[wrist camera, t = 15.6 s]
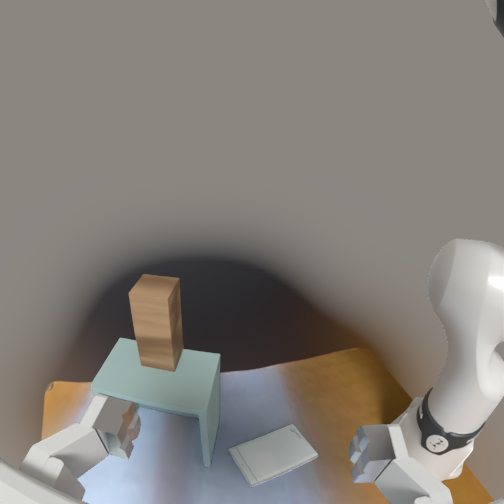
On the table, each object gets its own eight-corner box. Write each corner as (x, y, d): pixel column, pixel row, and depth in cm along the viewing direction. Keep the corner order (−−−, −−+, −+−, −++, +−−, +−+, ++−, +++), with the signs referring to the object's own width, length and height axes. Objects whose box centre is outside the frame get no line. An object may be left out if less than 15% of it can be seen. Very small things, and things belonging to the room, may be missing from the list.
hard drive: (292, 422, 50) (228, 447, 44) (318, 454, 43) (251, 485, 37) (291, 427, 50) (228, 451, 45) (316, 459, 44) (251, 489, 38)
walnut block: (174, 371, 40) (167, 298, 35) (141, 365, 40) (128, 293, 36) (183, 349, 45) (179, 278, 40) (152, 343, 45) (143, 274, 40)
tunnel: (210, 467, 41) (206, 411, 34) (116, 446, 42) (90, 385, 35) (219, 417, 51) (220, 354, 45) (136, 401, 52) (120, 337, 45)
